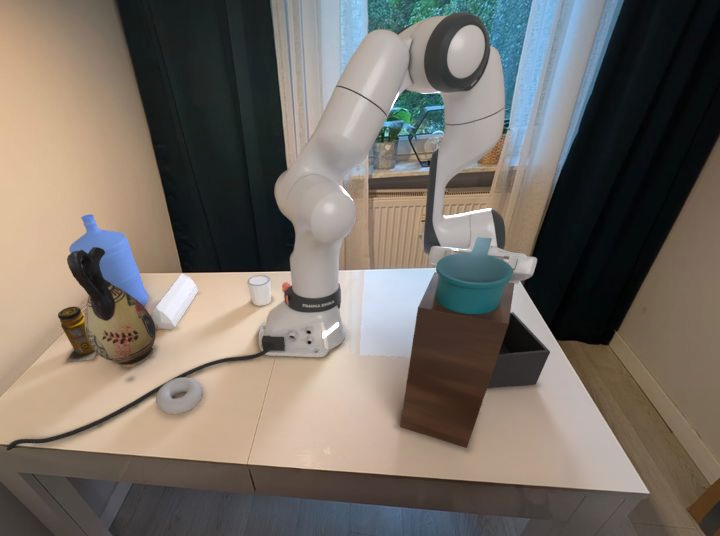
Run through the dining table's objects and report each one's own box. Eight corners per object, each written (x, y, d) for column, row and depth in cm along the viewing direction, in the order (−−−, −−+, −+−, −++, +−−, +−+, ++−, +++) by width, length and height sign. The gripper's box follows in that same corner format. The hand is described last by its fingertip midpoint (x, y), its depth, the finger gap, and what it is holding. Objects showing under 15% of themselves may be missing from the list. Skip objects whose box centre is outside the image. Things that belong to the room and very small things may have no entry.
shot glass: (274, 294, 116) (271, 274, 112) (271, 306, 111) (268, 285, 107) (252, 295, 117) (249, 274, 113) (248, 306, 112) (245, 286, 108)
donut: (148, 408, 82) (181, 424, 78) (143, 397, 80) (176, 412, 75) (181, 380, 89) (213, 393, 84) (177, 369, 87) (209, 382, 82)
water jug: (156, 291, 124) (126, 205, 107) (137, 318, 112) (100, 225, 95) (111, 293, 126) (75, 208, 109) (88, 319, 114) (43, 228, 97)
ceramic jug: (112, 341, 103) (62, 236, 85) (168, 335, 104) (130, 228, 85) (91, 384, 90) (26, 269, 72) (155, 376, 90) (107, 260, 72)
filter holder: (450, 252, 69) (455, 225, 66) (511, 259, 65) (519, 231, 62) (424, 308, 55) (429, 277, 52) (500, 322, 51) (510, 289, 48)
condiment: (105, 340, 104) (87, 303, 97) (93, 359, 98) (73, 321, 90) (79, 342, 104) (59, 305, 97) (66, 362, 98) (43, 324, 90)
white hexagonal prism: (175, 321, 101) (203, 279, 120) (149, 310, 100) (182, 269, 119) (169, 340, 106) (196, 296, 124) (144, 330, 105) (176, 287, 123)
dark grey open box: (466, 390, 78) (476, 357, 73) (442, 348, 90) (449, 317, 84) (535, 384, 78) (550, 351, 73) (502, 343, 89) (513, 312, 84)
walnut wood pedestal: (414, 386, 80) (434, 271, 64) (475, 403, 76) (514, 283, 59) (399, 427, 72) (417, 307, 56) (466, 448, 67) (508, 323, 51)
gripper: (434, 244, 89) (428, 234, 77) (534, 255, 81) (544, 246, 68) (428, 271, 90) (421, 266, 78) (525, 285, 82) (534, 281, 70)
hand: (479, 257), depth 73 cm, fingers open, 8 cm apart
